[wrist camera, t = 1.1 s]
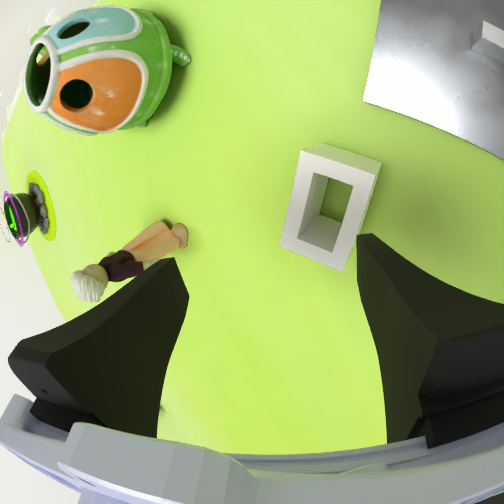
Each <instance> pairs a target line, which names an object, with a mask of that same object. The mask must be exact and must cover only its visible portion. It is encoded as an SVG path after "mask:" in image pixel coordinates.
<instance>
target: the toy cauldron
mask: <svg viewBox="0 0 504 504" xmlns="http://www.w3.org/2000/svg"><path fill="white" fill-rule="evenodd" d="M6 192H7V191H6ZM6 194H7V195H6ZM6 194H5V195H4V197H5V196H6V197H9V198H7V201H4V211H5V212H4V213H3V215H5V216H6V220H7V223H8V226H9V229H10V231H11V233H12V235H13V236H14V238H15V239H17V240H18V241H17V242H20V243H19V245H20V244H21V243H22V244H24V243H25V242H27V240H28V237H29V235H30V234H31V233H32V232H33V231H34V230H35V229H36V227H37V228H38V229H39V231H40V233H41V234H42V235H43V236H44V237H45V238H46V239H47V240H49V241H52V240H54V238H55V236H56V218H55V213H54V208H53V204H52V201H51V197H50V194H49V192H48V189H47V187H46V185H45V182H44V181H43V179H42V177H41V176H40V175H39V174H38V173H37V172H36V171H32V172H30V173H29V175H28V179H27V194H26V193H17V194H13V193H12V194H10V195H9V194H8V193H6ZM12 195H13V196H12ZM10 196H11V197H10ZM6 197H5V198H6ZM5 198H4V199H5ZM7 229H8V227H7ZM26 236H27V239H26V241H24V242H23V239H22V238H21V237H26ZM19 238H21V240H22V241H21V240H19ZM9 242H10V241H9Z"/></svg>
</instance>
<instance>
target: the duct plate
mask: <svg viewBox="0 0 504 504" xmlns="http://www.w3.org/2000/svg"><path fill="white" fill-rule="evenodd" d="M363 101H364V102H367V103H371V104H374V105H377V106H380V107H383V108H386V109H389V110H392V111H395V112H398V113H401V114H404V115H406V116H409V117H412V118H415V119H417V120H420V121H422V122H425V123H427V124H430V125H432V126H435V127H437V128H439V129H442V130H444V131H446V132H449V133H451V134H453V135H455V136H457V137H460V138H462V139H464V140H466V141H468V142H470V143H472V144H474V145H476V146H478V147H480V148H482V149H484V150H486V151H488V152H490V153H491V154H493V155H495V156H497V157H499V158H501V159H502V160H504V0H381V5H380V12H379V19H378V25H377V31H376V37H375V43H374V48H373V54H372V59H371V65H370V70H369V75H368V80H367V84H366V89H365V94H364V98H363Z"/></svg>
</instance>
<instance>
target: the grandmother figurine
mask: <svg viewBox="0 0 504 504" xmlns="http://www.w3.org/2000/svg"><path fill="white" fill-rule="evenodd" d="M187 237H188V232H187V229H186V227H185V226H184V225H182V224H179V223H176V224H174V226H173V227H172V229H171V230H170V229H169V227H168V226H167V225H166V224H165V223H164V222H161V221H157V222H155V223H154V224H152V225H150V226H149V227H148V228H146V229H145V230H143V231H142V232H141V233H140V234H139V235H138V236H136V237H135V238H134V239H133V240H131V241H130V242H129V243H128V244H126V245H125V246H124V247H123V248H122V249H121V250H119V251H118V252H116V253H115V252H110V253H109V254H108V255H107V256H106V257H104V258H103V259H102V260H101V261H100V262H99V264H91V265H88V266H87V267H86V268H84V270H83V271H82V270H77V271H75V272H74V273H73V274H72V276H71V279H72V287H73V289H74V293H75V294H76V296H77V297H79V298H80V299H82V300H84V301H89V302H99V301H100V297H101V296H102V295H103V293H104V289H105V288H106V287H107V285H108V281H112V282H121V281H123V280H125V279H127V278H131V277H134V276H138V275H139V274H140V273H142V272H143V271H144V270H145V269H147V268H148V267H149V266H151V265H152V264H154V263H155V262H157V261H159V260H160V259H159V258H161V257H163V256H165V255H167V254H169V253H171V252H173V251H174V250H176V249H178V247H179V248H184V247H186V245H187Z"/></svg>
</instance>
